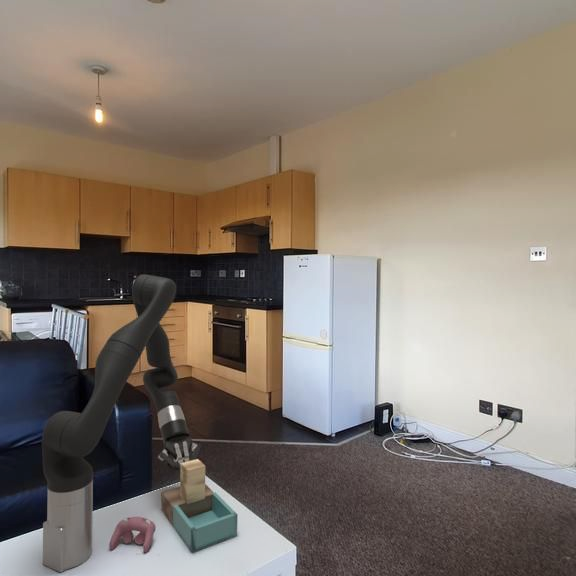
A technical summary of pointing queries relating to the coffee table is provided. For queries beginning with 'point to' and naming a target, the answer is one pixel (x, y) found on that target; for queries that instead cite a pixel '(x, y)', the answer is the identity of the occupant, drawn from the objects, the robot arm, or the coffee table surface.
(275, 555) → the coffee table surface
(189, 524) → the bin
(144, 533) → the pink arched piece
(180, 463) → the robot arm
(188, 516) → the brown wooden block
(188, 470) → the maple block
